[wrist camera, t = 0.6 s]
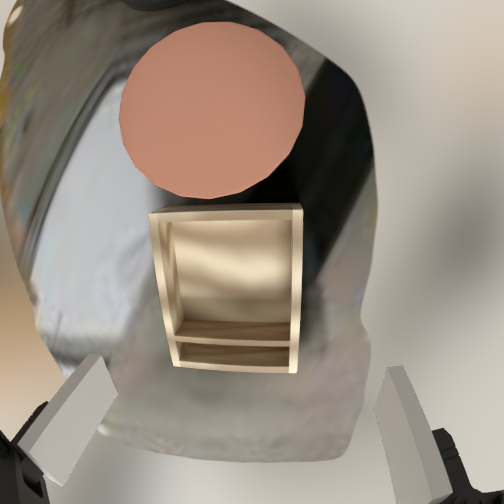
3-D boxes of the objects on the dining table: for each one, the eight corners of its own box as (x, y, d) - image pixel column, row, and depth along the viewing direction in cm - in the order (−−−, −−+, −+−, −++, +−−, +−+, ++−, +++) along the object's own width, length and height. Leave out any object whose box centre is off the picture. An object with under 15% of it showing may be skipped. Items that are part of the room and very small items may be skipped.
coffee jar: (252, 73, 28) (221, -8, 11) (311, 142, 30) (347, 118, 13) (181, 131, 31) (90, 108, 14) (238, 199, 33) (191, 238, 16)
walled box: (165, 206, 34) (148, 213, 29) (299, 202, 32) (302, 209, 28) (184, 345, 40) (173, 365, 35) (295, 349, 38) (296, 372, 34)
